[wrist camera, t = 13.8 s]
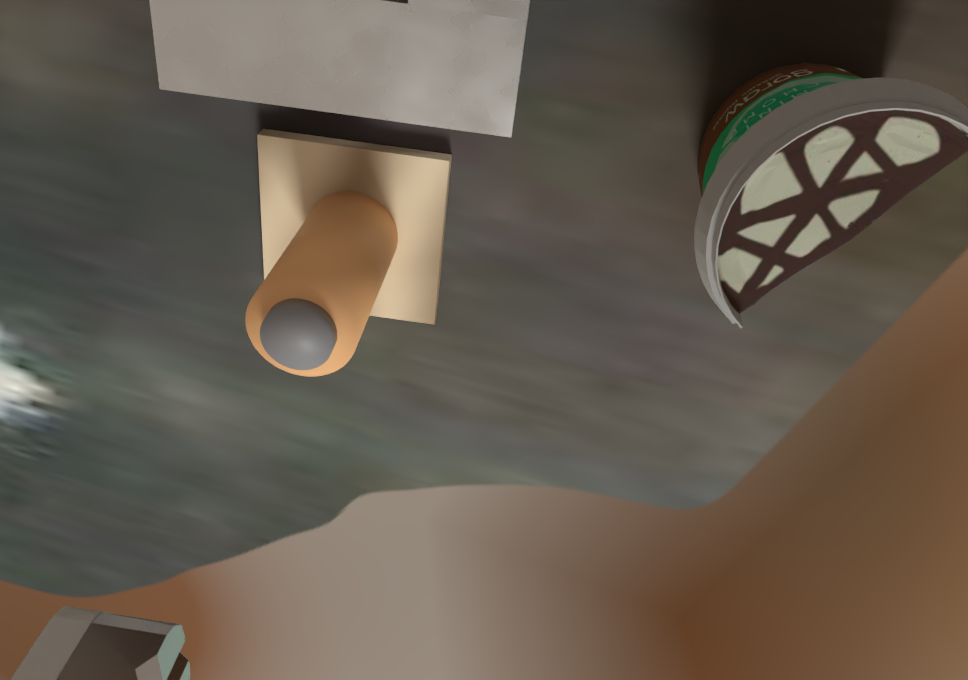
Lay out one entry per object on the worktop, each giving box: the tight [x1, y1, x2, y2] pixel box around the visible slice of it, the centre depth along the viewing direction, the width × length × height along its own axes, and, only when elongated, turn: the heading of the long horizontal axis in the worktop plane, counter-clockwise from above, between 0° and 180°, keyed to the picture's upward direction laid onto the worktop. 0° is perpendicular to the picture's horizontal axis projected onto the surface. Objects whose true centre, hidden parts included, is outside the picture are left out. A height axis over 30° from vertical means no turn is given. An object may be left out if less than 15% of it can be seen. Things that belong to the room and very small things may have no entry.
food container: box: [694, 62, 968, 328], centre depth 34 cm, size 12×6×10 cm, turn 136°
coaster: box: [257, 129, 452, 324], centre depth 43 cm, size 10×10×1 cm
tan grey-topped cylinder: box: [246, 191, 398, 376], centre depth 38 cm, size 5×5×11 cm
